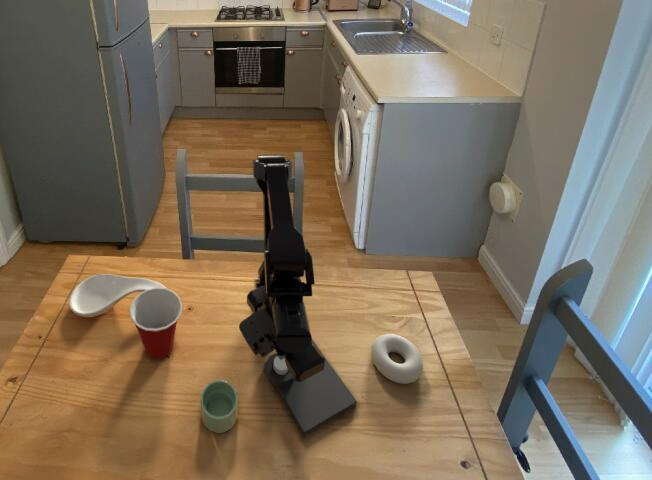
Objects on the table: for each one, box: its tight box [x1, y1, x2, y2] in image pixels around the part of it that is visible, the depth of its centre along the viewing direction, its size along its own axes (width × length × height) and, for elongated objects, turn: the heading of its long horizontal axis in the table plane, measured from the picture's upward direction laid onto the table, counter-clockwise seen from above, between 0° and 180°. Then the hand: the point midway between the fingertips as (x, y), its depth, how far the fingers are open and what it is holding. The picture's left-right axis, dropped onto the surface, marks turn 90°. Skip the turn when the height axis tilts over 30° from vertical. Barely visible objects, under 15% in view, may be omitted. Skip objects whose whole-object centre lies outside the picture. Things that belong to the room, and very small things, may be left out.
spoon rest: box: [68, 273, 167, 318], centre depth 100 cm, size 24×12×7 cm, turn 89°
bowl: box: [200, 379, 239, 434], centre depth 78 cm, size 7×7×4 cm
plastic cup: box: [129, 287, 183, 360], centre depth 89 cm, size 11×11×12 cm
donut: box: [370, 333, 424, 385], centre depth 86 cm, size 10×3×10 cm
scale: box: [264, 339, 358, 437], centre depth 82 cm, size 14×13×3 cm
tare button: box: [273, 356, 288, 375], centre depth 84 cm, size 3×3×2 cm
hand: (281, 357), depth 83 cm, fingers closed
